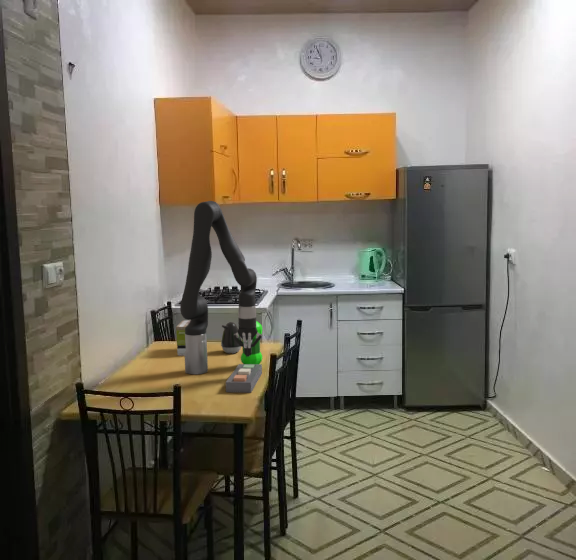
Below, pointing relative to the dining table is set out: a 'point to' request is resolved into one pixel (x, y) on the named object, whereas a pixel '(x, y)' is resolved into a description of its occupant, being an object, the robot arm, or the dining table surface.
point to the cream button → (244, 372)
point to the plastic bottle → (253, 350)
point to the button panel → (241, 385)
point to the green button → (249, 366)
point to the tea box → (181, 337)
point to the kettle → (230, 338)
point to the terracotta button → (240, 378)
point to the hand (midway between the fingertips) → (248, 356)
